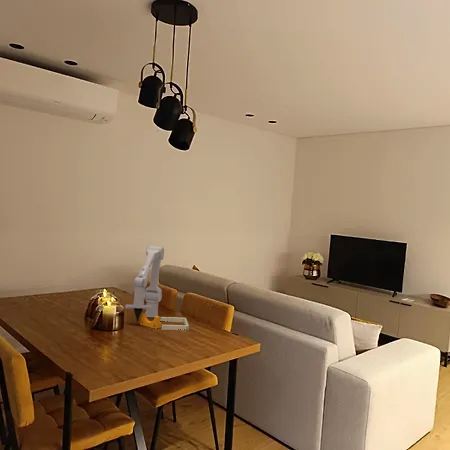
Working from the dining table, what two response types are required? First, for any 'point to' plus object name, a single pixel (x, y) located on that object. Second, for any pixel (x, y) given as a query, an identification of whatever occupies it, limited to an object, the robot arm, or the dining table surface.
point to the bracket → (174, 327)
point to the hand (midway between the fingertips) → (137, 321)
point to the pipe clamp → (152, 324)
